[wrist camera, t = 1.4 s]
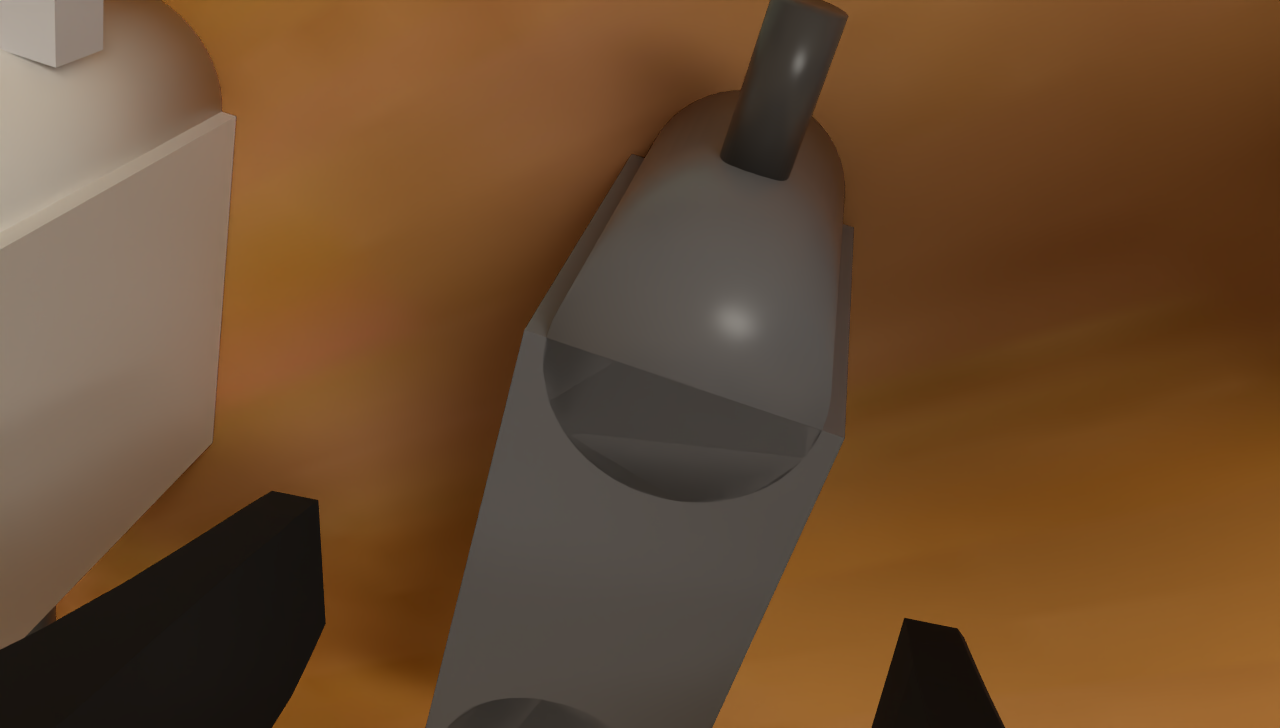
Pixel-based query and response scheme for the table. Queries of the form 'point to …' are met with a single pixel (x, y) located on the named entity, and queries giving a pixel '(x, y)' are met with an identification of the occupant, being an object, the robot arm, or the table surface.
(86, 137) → the white plug
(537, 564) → the charcoal plug
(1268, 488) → the table surface
